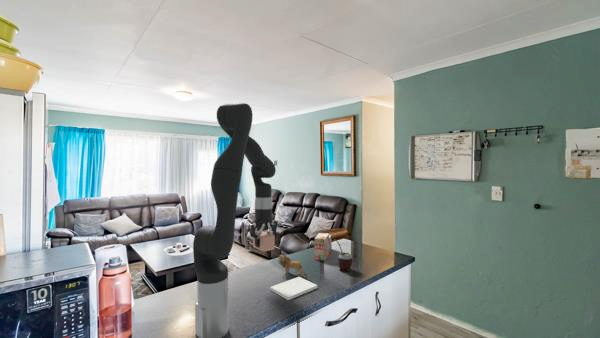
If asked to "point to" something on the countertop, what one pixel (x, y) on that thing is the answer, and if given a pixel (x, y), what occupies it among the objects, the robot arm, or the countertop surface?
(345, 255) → the mate gourd
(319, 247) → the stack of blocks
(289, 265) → the lion figurine
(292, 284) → the baseplate
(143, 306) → the countertop surface
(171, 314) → the countertop surface
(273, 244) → the terracotta brick
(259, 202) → the robot arm
